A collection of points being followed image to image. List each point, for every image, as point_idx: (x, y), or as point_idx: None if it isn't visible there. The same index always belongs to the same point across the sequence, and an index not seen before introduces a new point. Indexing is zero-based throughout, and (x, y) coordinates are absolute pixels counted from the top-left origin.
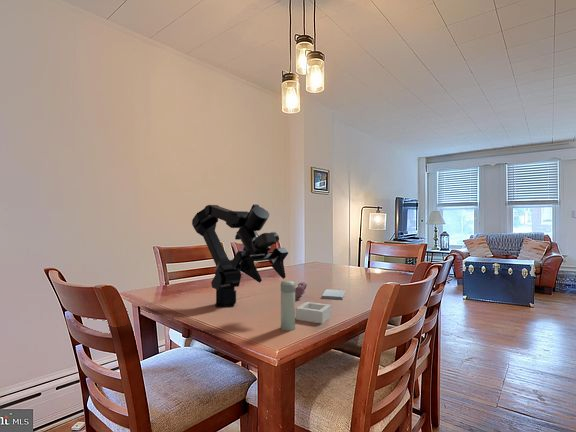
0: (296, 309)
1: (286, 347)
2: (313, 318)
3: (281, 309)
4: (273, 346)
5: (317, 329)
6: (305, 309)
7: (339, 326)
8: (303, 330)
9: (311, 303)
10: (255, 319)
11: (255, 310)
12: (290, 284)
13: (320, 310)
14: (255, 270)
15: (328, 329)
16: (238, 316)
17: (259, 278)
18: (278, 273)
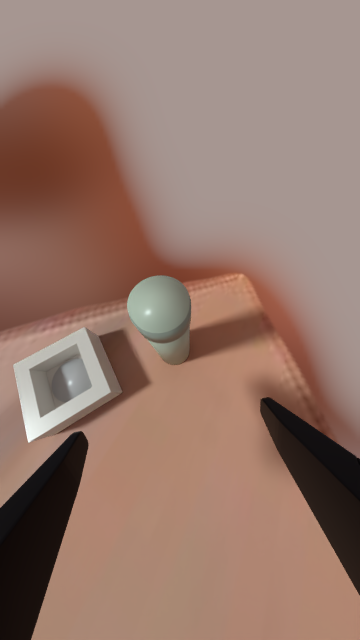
0: (111, 390)
1: (223, 279)
2: (101, 350)
3: (189, 338)
4: (240, 290)
5: None
6: (100, 365)
7: (86, 308)
8: None
9: (37, 411)
10: (211, 462)
11: (167, 587)
12: (167, 278)
13: (78, 337)
14: (345, 458)
15: (114, 306)
16: (251, 539)
17: (280, 405)
18: (63, 529)
